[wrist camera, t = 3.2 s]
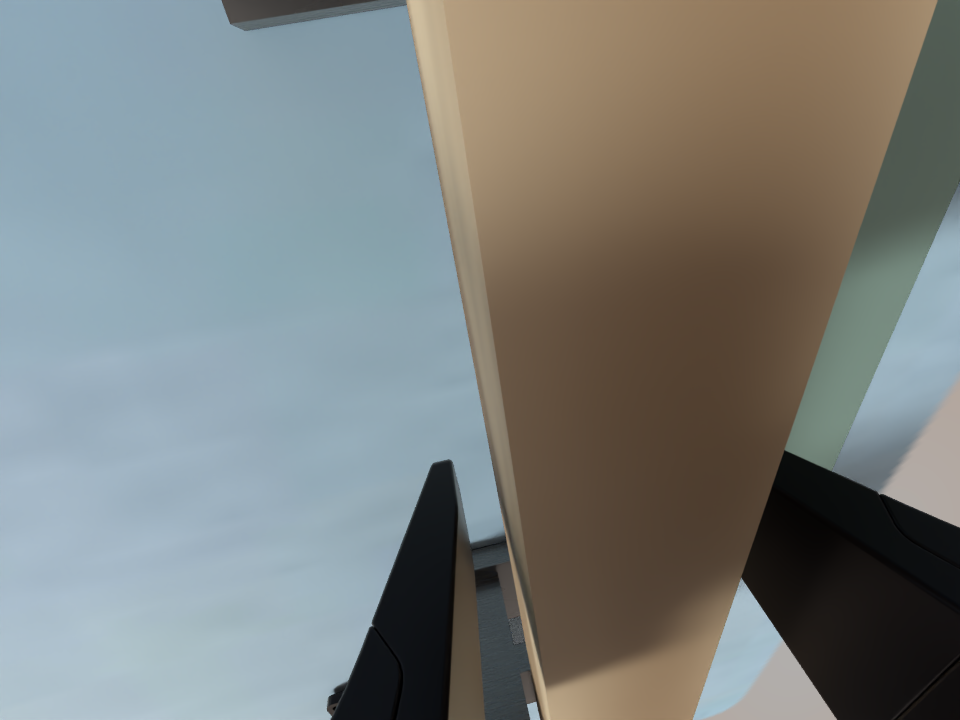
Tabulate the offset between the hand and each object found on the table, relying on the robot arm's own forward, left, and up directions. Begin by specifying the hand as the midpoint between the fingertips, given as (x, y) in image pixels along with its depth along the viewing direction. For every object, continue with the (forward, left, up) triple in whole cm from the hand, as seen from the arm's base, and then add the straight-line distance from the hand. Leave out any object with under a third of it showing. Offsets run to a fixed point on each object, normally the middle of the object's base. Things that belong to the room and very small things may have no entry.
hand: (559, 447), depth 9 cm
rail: (0, 0, 0) cm, 0 cm away
